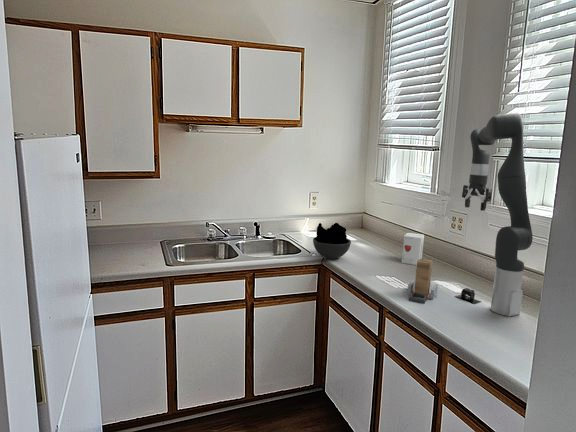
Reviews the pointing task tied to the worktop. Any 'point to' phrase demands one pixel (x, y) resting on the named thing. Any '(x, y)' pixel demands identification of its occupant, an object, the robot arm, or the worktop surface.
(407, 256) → the supplement box
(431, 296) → the grey cradle
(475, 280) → the worktop surface
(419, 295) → the trap pit
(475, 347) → the worktop surface
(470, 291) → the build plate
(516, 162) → the robot arm
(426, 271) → the walnut block
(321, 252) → the heaped charcoal-grey bowl
